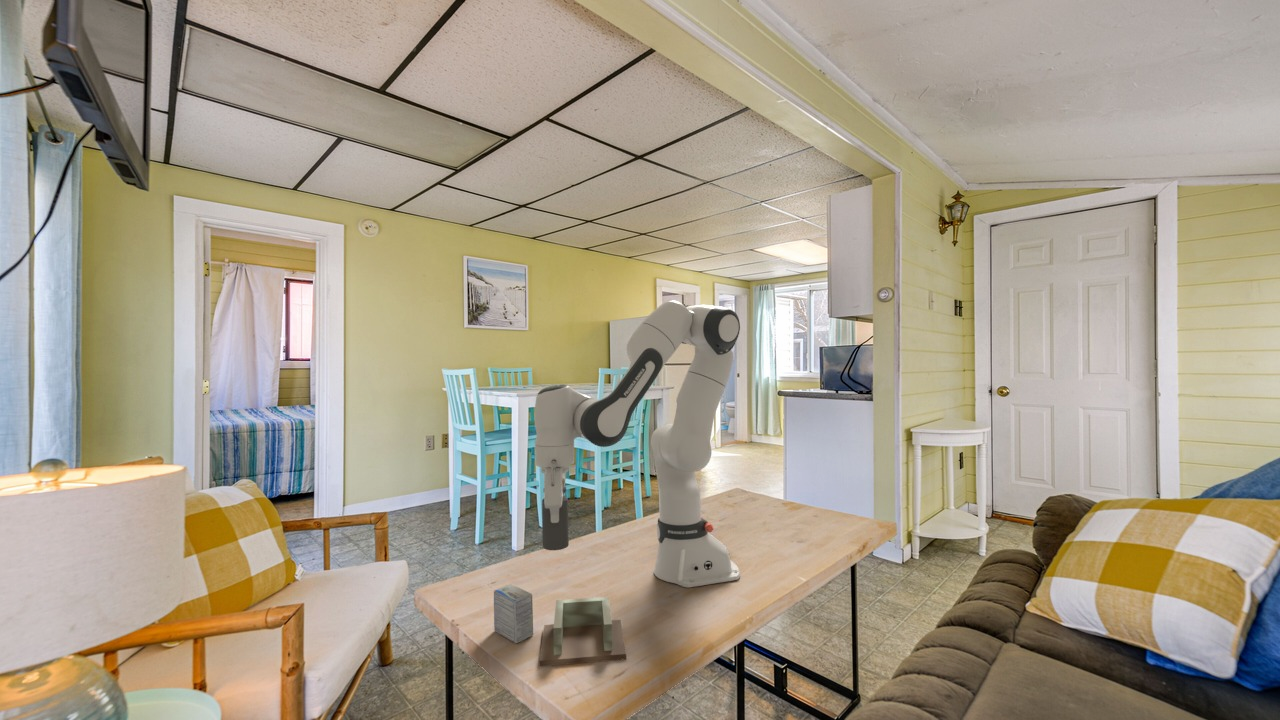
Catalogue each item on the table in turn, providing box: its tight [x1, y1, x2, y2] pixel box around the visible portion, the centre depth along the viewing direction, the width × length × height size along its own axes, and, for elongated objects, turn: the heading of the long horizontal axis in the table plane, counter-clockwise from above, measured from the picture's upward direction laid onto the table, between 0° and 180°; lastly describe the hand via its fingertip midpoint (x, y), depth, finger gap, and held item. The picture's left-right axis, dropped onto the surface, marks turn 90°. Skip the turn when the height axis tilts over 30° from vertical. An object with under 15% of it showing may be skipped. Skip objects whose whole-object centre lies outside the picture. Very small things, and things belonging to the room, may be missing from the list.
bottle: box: [541, 478, 570, 551], centre depth 114 cm, size 6×6×15 cm
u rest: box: [539, 596, 627, 667], centre depth 100 cm, size 16×13×6 cm
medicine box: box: [493, 583, 534, 644], centre depth 104 cm, size 8×4×9 cm, turn 48°
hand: (555, 517), depth 115 cm, fingers closed on bottle, 5 cm apart
